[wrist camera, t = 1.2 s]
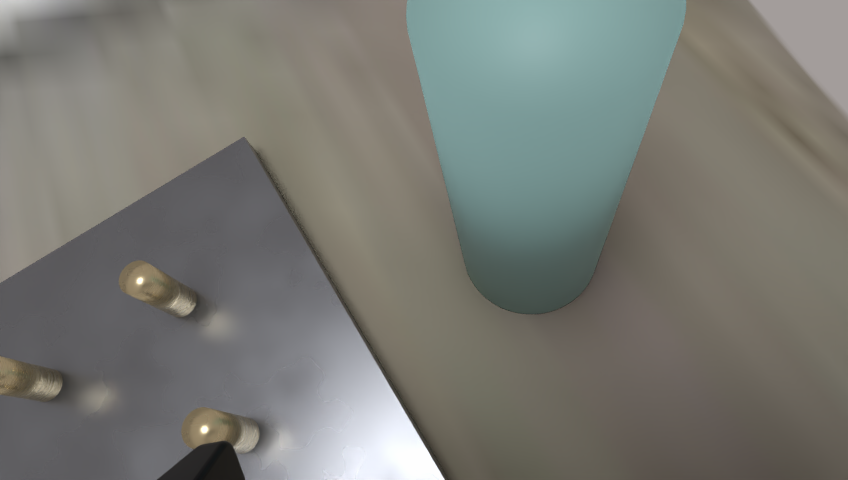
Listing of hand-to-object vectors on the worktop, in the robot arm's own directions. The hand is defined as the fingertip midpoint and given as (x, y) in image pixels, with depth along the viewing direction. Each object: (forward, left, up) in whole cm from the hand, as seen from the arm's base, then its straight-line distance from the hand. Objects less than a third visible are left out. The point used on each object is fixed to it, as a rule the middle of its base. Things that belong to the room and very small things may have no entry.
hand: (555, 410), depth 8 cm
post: (+6, -4, -13) cm, 15 cm away
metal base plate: (+9, +11, -13) cm, 19 cm away
